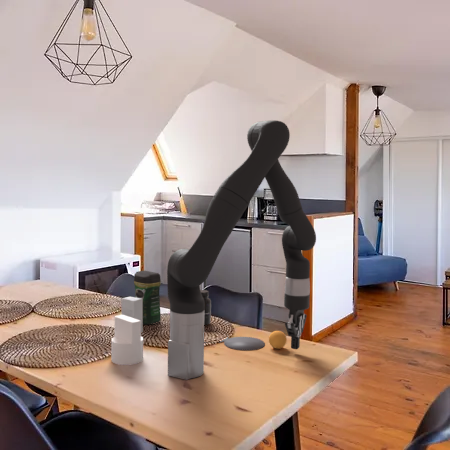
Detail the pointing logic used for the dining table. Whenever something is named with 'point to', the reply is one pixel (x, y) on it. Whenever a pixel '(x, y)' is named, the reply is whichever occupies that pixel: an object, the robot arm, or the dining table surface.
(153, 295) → the coffee jar
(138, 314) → the skincare box
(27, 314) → the dining table surface
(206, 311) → the supplement bottle
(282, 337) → the ball
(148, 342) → the dining table surface
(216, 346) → the dining table surface
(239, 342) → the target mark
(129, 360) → the cylinder with rectangular tab
